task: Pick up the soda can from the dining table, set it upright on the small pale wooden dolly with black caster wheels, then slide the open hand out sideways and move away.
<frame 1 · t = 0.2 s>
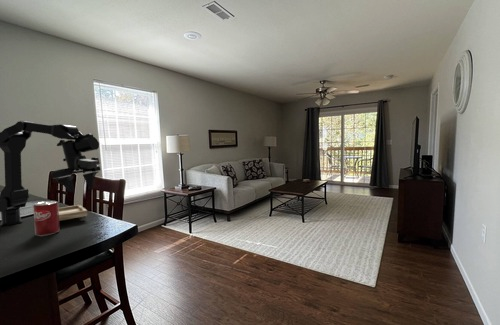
hand: (82, 191, 98), 15 cm above the table, tool pointing down, fingers open, 9 cm apart
dolly: (65, 220, 105), on the table
soda can: (47, 233, 91), on the table
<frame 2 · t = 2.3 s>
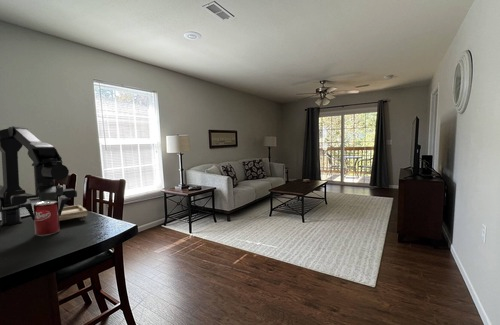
hand: (47, 217, 90), 6 cm above the table, tool pointing down, fingers closed on soda can, 7 cm apart
soda can: (47, 233, 91), on the table, touching gripper
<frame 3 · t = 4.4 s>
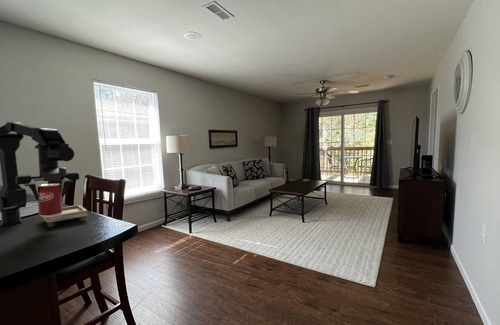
hand: (50, 199, 93), 13 cm above the table, tool pointing down, fingers closed on soda can, 7 cm apart
soda can: (51, 214, 94), point 6 cm above the table, touching gripper
when the fingers open (11 cm above the table, at t = 6.6 s): soda can stays where it is, resting on dolly.
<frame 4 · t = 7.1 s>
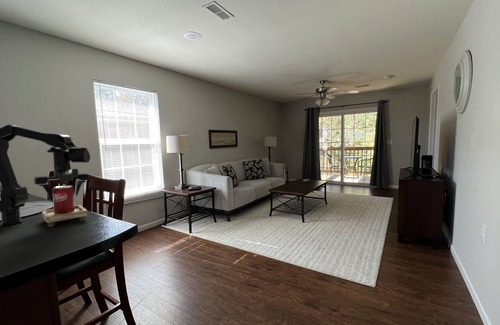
hand: (63, 197, 104), 11 cm above the table, tool pointing down, fingers open, 9 cm apart
soda can: (64, 213, 105), point 3 cm above the table, touching dolly
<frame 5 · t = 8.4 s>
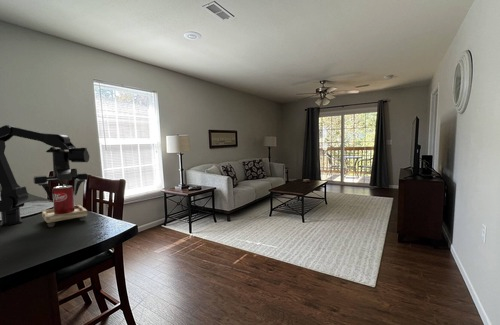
hand: (62, 196, 105), 11 cm above the table, tool pointing down, fingers open, 9 cm apart
nothing on the table moved.
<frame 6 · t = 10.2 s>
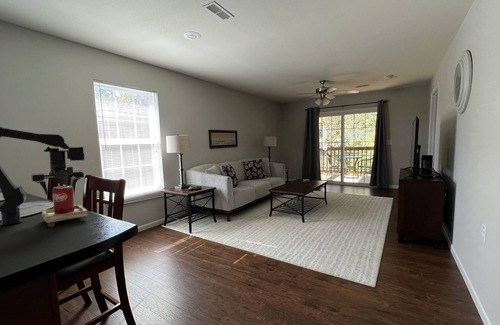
hand: (59, 193, 111), 11 cm above the table, tool pointing down, fingers open, 9 cm apart
nothing on the table moved.
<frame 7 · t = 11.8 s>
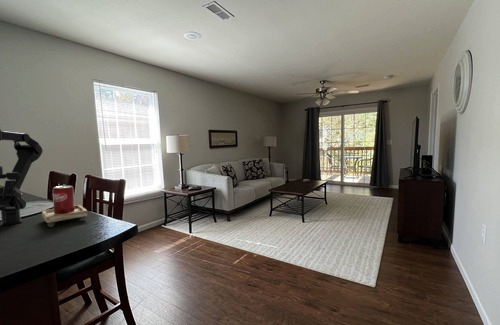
nothing on the table moved.
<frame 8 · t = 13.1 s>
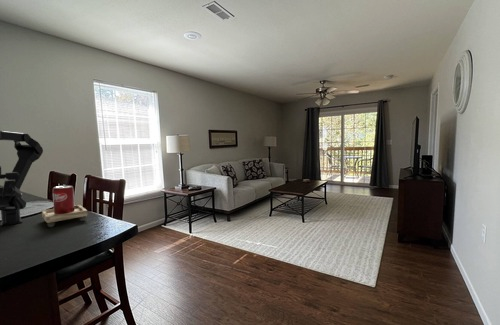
nothing on the table moved.
at the end: soda can inside the target area on the dolly (0.1 cm from its centre), point 3.4 cm above the dolly's base; soda can tilted 0°; the gripper is holding nothing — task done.
